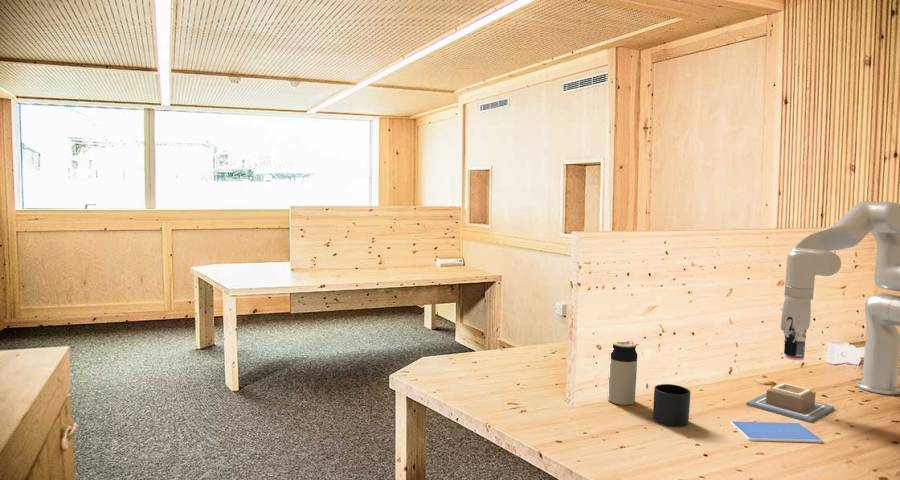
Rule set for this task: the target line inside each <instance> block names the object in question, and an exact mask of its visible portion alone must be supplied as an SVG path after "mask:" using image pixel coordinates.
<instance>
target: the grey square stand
mask: <svg viewBox="0 0 900 480" xmlns="http://www.w3.org/2000/svg"><path fill="white" fill-rule="evenodd" d="M816 393H817V392H815V391H812V389H811V388H810V389H809V388H807V387H802V386H797V385H794V384H789V383H785V382H782V383H779V384H777V385H775V386H772V387H771V388H769V389H767V390H766V393H765V394H762V395H759V396H758V397H755V398H753V399H751V400H748V401H746V403H745V405H746V406H749V405H750V406H749V407H752V406H753V408H756V409H760V410H764V411H767V412H771V413H773V414H779V415H781V416H785V417H789V418H793V419H796V420H800V421H804V422H807V423H812V422H814V421H816V420H818V419H819V418H821V417H823V416H824V415H826V414H828V413H829V412H831V411H833V410H835V406H834V405H830V404H825V403H824V402H823V403H822V402H818V401H816Z"/></svg>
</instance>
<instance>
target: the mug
mask: <svg viewBox="0 0 900 480" xmlns="http://www.w3.org/2000/svg"><path fill="white" fill-rule="evenodd" d="M690 404H691V390H690V389H688V388H686V387H685V386H681V385H676V384H671V383H662V384H657V385H655V386H654V391H653V407H652V409H653V410H652V419H653V420H654V422H656V423H657V424H660V425H662V426H667V427H672V428H679V427H680V428H682V427H685V426H687V425H688V424H689V421H690V406H691V405H690Z"/></svg>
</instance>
